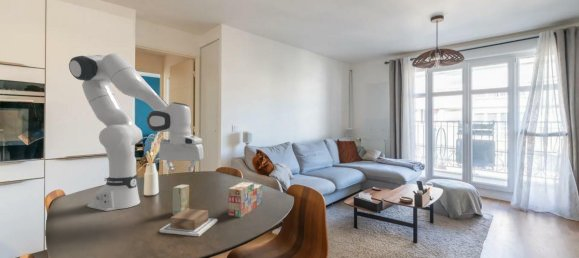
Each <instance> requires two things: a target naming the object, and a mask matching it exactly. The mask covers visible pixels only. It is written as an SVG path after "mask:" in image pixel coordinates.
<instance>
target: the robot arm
mask: <svg viewBox="0 0 579 258" xmlns="http://www.w3.org/2000/svg"><path fill="white" fill-rule="evenodd" d="M68 68H69V71H70V74H71V75H72V76H73V78H75V79H76V80H79V81H83V82H82V84H81V85H82V90H83V93H84V96H85V98H86V100H87V102H88V104H89V106H90V108H91V109H92V111H93V113H94V114H95V115H94V116H95V117H96V118H97V120H98V121H100V122H102V123H103V124H104V125H105V126H106V127H105V128H103V129H102V130H101V131H100V132H99V134H98V139H99V143H100V145H101V146H103V147H104V150H105V153H106V155H107V159H108V174H109V176H108V177H105V178H104V180H103V181H104V182H106V183H105V184H104V185H103V186H102V187H101V188H99V189H98V190H97V191H96V192H95V193H94V195H93V201H91V202H89V203H88V204H87V206H86V207H87V208H92V209H94V210H99V211H105V212H109V211H115V210H121V209H127V208H128V209H129V208H132V207H134V206H135V207H136V206H137V205H139V204H140V203H141V200H140V195H139V189H138V179H139V178H138V174H137V158H136V156H135V155H134V152H133V149H132V146H135V145H136V144H138V143H139V142H140V141H141V140H142V137H143V131H142V129H141V128H140V127H139V126H137V125H136V124H135V123H134V121H133V120H132V119H131V117H130V116H129V115H128V114H127V112H126V111H125V110H124V109H123V107H122V105H121V104H120V101H119V100H118V98H117V97H116V95H115V93H114V91H113V89H112V88H111V83H112V85H113V86H114V87H115V88H116V89H117V90H118V91H119V92H120V93H122V94H124V95H126V96H128V97H132V98H135V99H138V100H140V101H143V102H144V103H146V104H147V105H148V106H149V107H150V108H151V109H152V110H153V111H151V112H149V114H148V115H147V117H146V124H147V127H148V128H149V130H151V131H152V132H156V133H165V132H168V133H169V138H166V139H165V138H163V139H162V140H160V141H159V151H158V158H159V160H160V161H166V164H167V166H168V170H169V171H174V170H175V169H176V168H175V165H173V163H172V162H173V161H176V162H177V161H178V162H179V161H181V162H182V161H184V162H190V163H189V164H190V166H188V167H187V168H188V172H193V171H194V167H195V165H196V163H197V162H201V161H203V160H204V157H205V154H204V146H203V144H202V142H203V139H202V138H201V137H198V136H196V135H193V134H192V130H191V125H192V113H191V112H192V111H191V108H190V106H189V105H188V104H186V103H182V102H181V103H180V102H176V101H175V102H174V101H173V102H171V103H170V104H168V103H167V102H166V101H165V100H164V99H163V98H162V97H161V96H160V95H159V94H158V93H157V92H156V91H155V90H154V89H153V88H152V87H151V85H150V84H148V82H147V81H146V80H145V79H144V78H143V77H142V75H140V73H139V72H138V71H137V70H136V69H135V67H134V66H133V65H132V64H131V63H130V62H129V61H128V60H126V58H124V57H123V56H122V55H120V54H117V53H108V54H106V55H105V54H104V55H103V54H95V55H79V56H73V57H72V58H71V59H70V60H69V63H68Z"/></svg>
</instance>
